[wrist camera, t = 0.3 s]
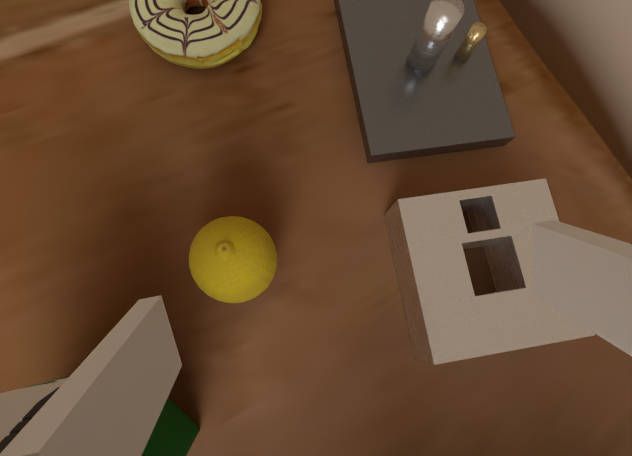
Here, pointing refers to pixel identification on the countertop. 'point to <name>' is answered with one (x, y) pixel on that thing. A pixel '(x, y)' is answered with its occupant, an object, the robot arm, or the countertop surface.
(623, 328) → the robot arm
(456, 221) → the white boxy piece
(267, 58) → the countertop surface
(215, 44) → the decorated donut
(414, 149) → the fixture
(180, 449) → the milk carton
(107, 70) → the countertop surface
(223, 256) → the lemon
